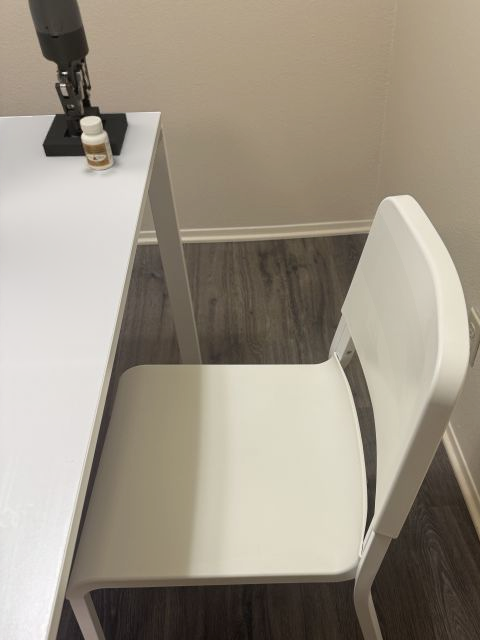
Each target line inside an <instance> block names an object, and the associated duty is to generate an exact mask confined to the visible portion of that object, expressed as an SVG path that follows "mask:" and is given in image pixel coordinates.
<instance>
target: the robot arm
mask: <svg viewBox="0 0 480 640" xmlns="http://www.w3.org/2000/svg"><path fill="white" fill-rule="evenodd" d="M27 3H28V9H29V12H30V16H31V19H32V23H33V27H34V31H35V33H36V37H37V40H38V44H39V48H40V50H41V54H42V57H44V59H45V60H47V61H49V62H53V63H54V64H56V68H57V69H56V78H57V81H58V82H55V83H54V89H55V91H56V93H57V96H58V98H59V102H60V104H61V108H62V110H63V112H64V113H63V114H65V115H66V116H71V118H72V122H73V125H74V129H75V133H76V135H78V136H77V137H81V135H82V133H83V131H82V129H81V125H80V120H81V119H83V118H85V115H84V110H83V107H92V104H91V103H92V102H91V93H90V91H92V85H91V81H90V74H89V70H88V65H87V59H86V57H87V56H88V55H89V53H90V48H89V44H88V40H87V35H86V30H85V27H84V23H83V18H82V15H81V10H80V6H79V2H78V0H27ZM72 107H74V108H72Z"/></svg>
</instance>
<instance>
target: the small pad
mask: <svg viewBox="0 0 480 640" xmlns="http://www.w3.org/2000/svg"><path fill="white" fill-rule="evenodd" d="M72 108H74V106H72ZM83 110H84V115H85V117H88V116H97V117H99V118H100V119H101V115H100V113H101V110H100V107H99V106H91V107H83ZM101 121H102V119H101ZM66 123H67V126H68V130H69V134H70V136H72V137H79V136H78V135H76V133H75V129H74V125H73V122H72V118H71V116H67V117H66Z"/></svg>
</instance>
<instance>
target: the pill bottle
mask: <svg viewBox="0 0 480 640" xmlns="http://www.w3.org/2000/svg"><path fill="white" fill-rule="evenodd" d="M80 125H81V129H82V131H83V133H82V135H81V136H80V137H81V139H82V143H83V147H84V150H85V154H86V156H85V158H86V161H87V165H88V167H89V168H90V169H92V170H94V171H95V170H97V171H102V170H107V169H110V168H112V166H113V165H114V162H115V161H114V157H113V156H114V155H112V152H111V147H110V143H109V139H108V135H107V133H106V131H104V130H103V125H102V121H101V119H100V118H99V117H97V116H88V117H85V118H83V119H81V120H80Z"/></svg>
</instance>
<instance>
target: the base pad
mask: <svg viewBox="0 0 480 640" xmlns="http://www.w3.org/2000/svg"><path fill="white" fill-rule="evenodd" d="M100 115H101V119H102V125H103V130H104V131H106V133H107V135H108V139H109V143H110V147H111V152H112V156H120V154H121V151H122V148H123V143H124V140H125V137H126V133H127V129H128V125H129V121H128V119H127V113H126V112H100ZM66 117H67V116H66V115H65V113H55V116H54V117H53V120H52V122H51V125H50V127H49V129H48V131H47V133H46V136H45V137H44V141H43V142H42V144H41V145H42V147H43V153H44V154H45V157H86V154H85V150H84V147H83V143H82V139H81V136H70V134H69V130H68V126H67V123H66Z"/></svg>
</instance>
